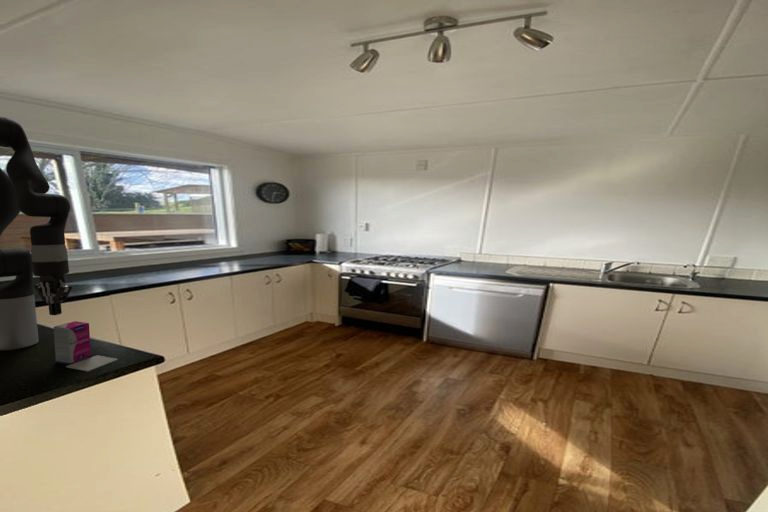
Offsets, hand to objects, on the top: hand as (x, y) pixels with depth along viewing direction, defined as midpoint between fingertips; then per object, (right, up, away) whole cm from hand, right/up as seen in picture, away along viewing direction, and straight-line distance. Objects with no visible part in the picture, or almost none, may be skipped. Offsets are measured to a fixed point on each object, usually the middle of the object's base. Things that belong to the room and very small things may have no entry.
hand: (55, 314), depth 95 cm
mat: (+14, -15, -2) cm, 20 cm away
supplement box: (+6, -14, 0) cm, 16 cm away
